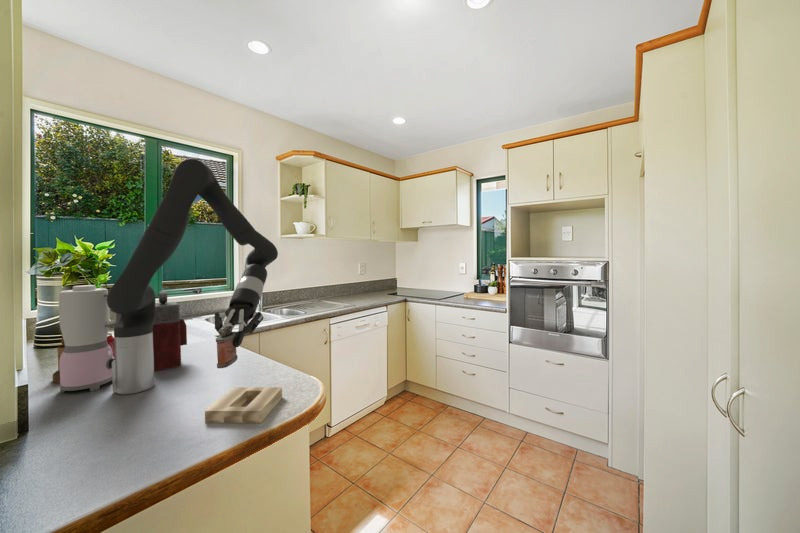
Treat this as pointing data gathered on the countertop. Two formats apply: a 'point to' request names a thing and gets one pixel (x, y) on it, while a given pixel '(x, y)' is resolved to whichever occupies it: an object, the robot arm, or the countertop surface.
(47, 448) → the countertop surface
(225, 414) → the rail
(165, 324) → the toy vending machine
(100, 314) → the blender
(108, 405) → the countertop surface
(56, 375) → the mortar and pestle
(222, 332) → the lighter
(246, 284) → the robot arm
